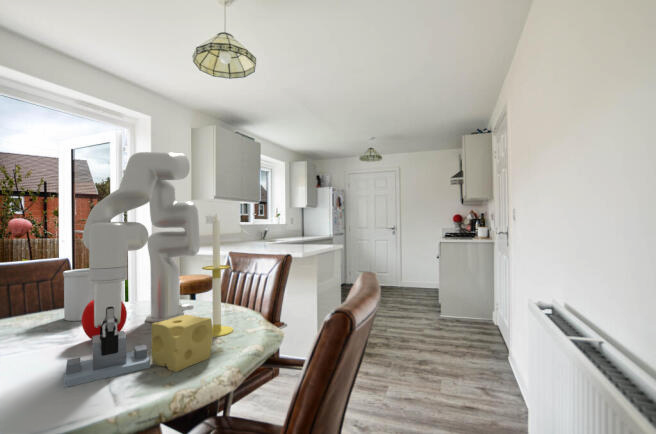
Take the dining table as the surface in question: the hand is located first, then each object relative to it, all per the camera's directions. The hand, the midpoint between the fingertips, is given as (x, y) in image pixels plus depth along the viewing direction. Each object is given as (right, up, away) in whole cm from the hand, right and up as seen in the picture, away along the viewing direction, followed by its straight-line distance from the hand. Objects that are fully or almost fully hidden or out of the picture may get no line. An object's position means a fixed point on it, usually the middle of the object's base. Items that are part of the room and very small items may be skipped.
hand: (108, 347), depth 79 cm
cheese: (+15, -5, +5) cm, 17 cm away
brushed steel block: (0, -4, 0) cm, 4 cm away
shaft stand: (0, -5, 0) cm, 5 cm away
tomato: (-15, -6, +21) cm, 27 cm away
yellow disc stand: (+17, -6, +27) cm, 32 cm away
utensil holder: (-39, -7, +48) cm, 62 cm away
